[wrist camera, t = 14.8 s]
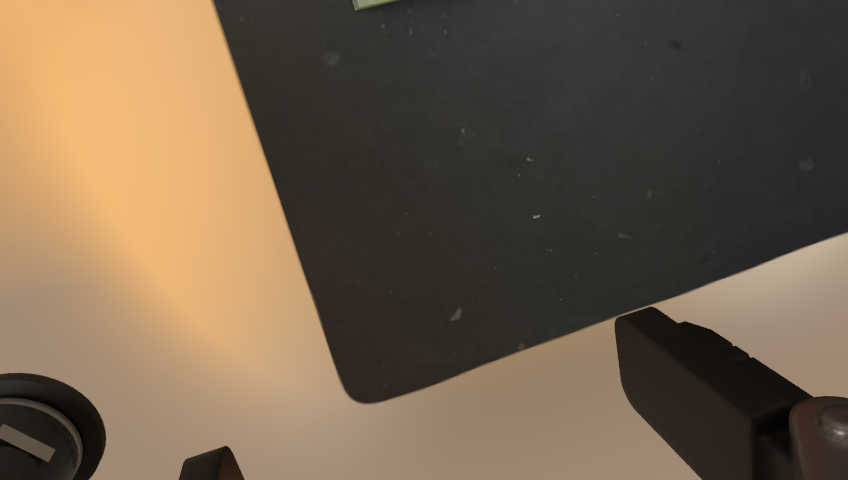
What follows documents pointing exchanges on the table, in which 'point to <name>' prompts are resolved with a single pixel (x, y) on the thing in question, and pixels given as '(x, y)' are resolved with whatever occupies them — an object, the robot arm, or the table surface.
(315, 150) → the table surface
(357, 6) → the scale
